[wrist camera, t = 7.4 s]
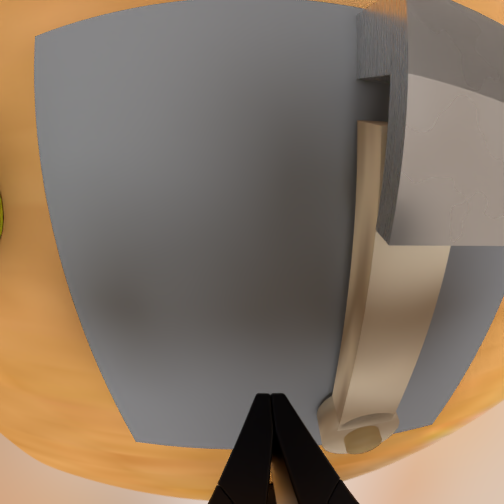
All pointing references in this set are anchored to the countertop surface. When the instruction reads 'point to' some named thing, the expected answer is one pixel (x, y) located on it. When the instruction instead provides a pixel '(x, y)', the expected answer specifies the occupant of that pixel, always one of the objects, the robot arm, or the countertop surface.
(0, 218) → the soap dispenser
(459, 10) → the block
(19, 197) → the countertop surface
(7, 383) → the countertop surface
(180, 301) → the board
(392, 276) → the link
